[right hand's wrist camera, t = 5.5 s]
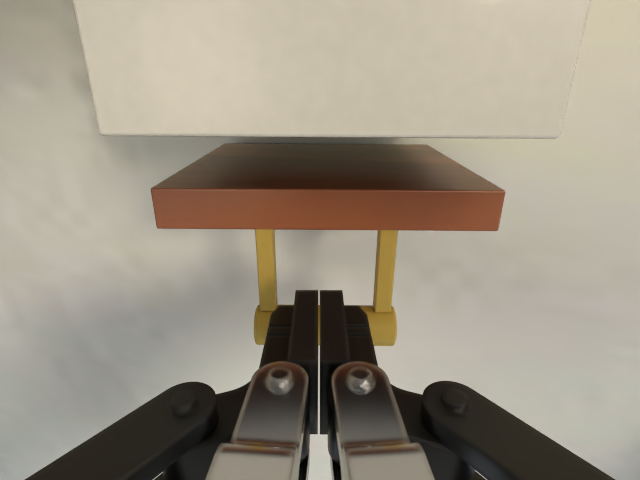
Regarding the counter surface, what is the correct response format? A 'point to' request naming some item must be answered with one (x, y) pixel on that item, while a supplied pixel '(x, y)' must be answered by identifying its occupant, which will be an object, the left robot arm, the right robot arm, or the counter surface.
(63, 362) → the counter surface
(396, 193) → the drawer
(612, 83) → the counter surface
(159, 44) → the cabinet
